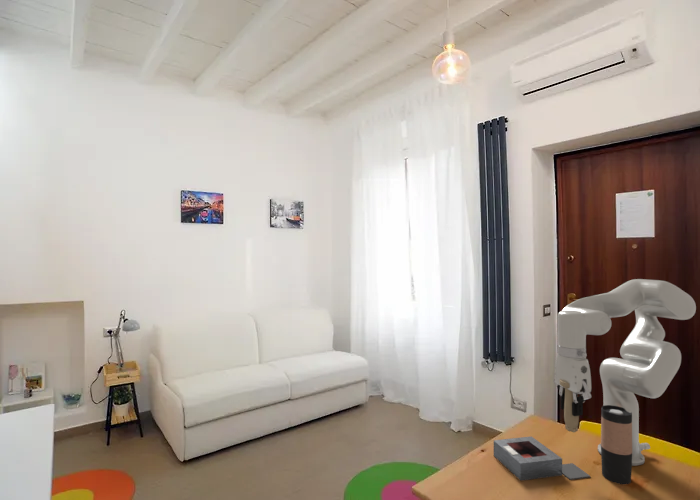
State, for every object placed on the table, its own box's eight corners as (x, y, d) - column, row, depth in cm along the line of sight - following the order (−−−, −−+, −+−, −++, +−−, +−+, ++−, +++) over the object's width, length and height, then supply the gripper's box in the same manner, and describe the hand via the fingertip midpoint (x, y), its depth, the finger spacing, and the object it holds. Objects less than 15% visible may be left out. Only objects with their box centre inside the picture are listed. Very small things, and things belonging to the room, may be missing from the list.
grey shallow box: (531, 451, 129) (531, 435, 129) (562, 475, 115) (562, 457, 115) (493, 455, 126) (493, 439, 126) (520, 480, 113) (520, 462, 113)
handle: (586, 434, 115) (586, 383, 115) (565, 434, 115) (565, 383, 115) (577, 426, 120) (577, 378, 120) (556, 426, 120) (556, 378, 120)
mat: (572, 464, 121) (572, 463, 121) (590, 477, 114) (590, 475, 114) (552, 466, 120) (552, 465, 120) (569, 479, 113) (569, 478, 113)
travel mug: (598, 477, 114) (598, 410, 114) (603, 467, 120) (603, 402, 120) (630, 488, 109) (630, 418, 109) (633, 477, 115) (634, 409, 115)
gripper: (605, 358, 110) (605, 423, 110) (562, 344, 126) (562, 400, 126) (582, 360, 108) (582, 425, 108) (541, 345, 125) (541, 402, 125)
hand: (571, 411), depth 117 cm, fingers closed on handle, 3 cm apart
